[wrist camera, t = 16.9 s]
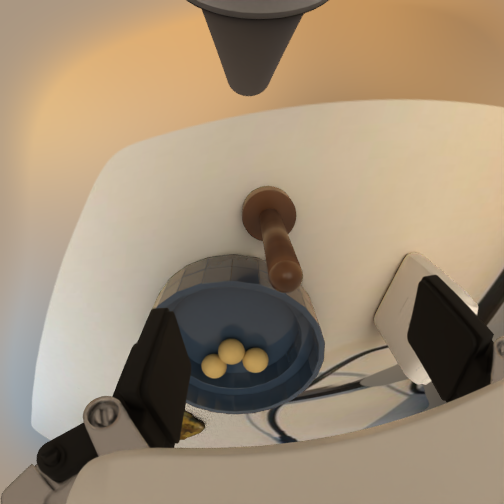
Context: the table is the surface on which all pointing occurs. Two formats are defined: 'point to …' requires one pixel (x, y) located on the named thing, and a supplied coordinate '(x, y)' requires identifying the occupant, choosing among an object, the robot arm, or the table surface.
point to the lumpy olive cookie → (190, 426)
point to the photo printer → (409, 311)
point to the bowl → (243, 333)
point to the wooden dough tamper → (274, 234)
